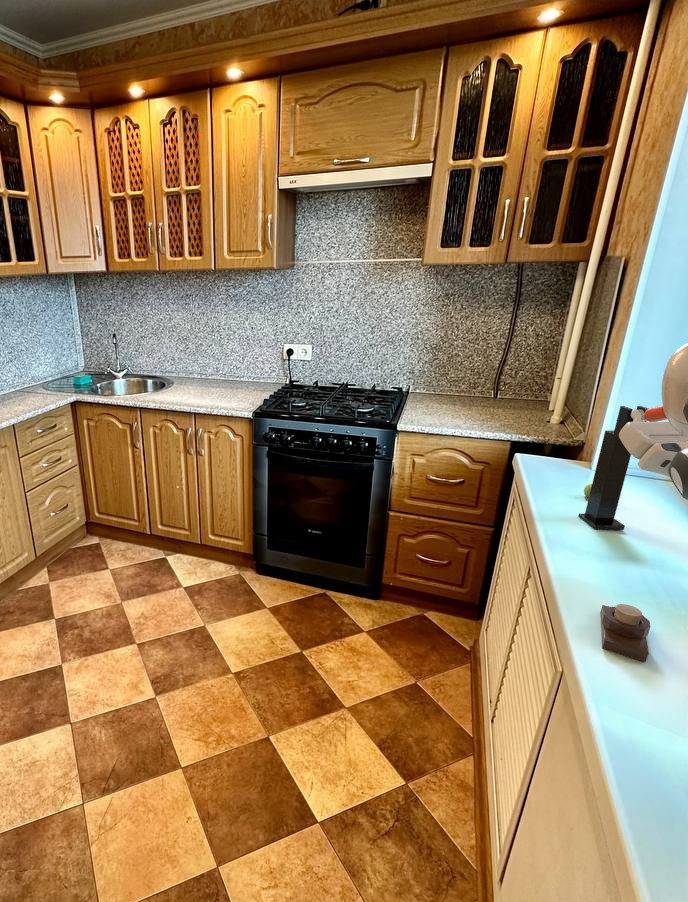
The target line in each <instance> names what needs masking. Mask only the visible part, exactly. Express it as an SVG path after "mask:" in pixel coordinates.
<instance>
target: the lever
mask: <svg viewBox="0 0 688 902" xmlns="http://www.w3.org/2000/svg"><path fill="white" fill-rule="evenodd" d="M641 420H645V421H646V420H647V421H646V422H663V421H666V420H667V421H668V419H667V417H666V415H665V412H664V409H663V404H662V405H658V406H654V407H650V408H649V409H647V410H646V411H645V416H644V417H642V419H641ZM629 422H633V418H632V417H630V421H629Z"/></svg>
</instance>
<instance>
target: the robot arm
mask: <svg viewBox="0 0 688 902" xmlns="http://www.w3.org/2000/svg"><path fill="white" fill-rule="evenodd" d="M663 371H664V372H663V376H662V381H661V403H662V405H663V409H664V412H665V415H666V417H667V421H657V422H648V421H645V420H641V419H642V417H644V416H645V413H644V412H643V410H636V409H633V410H632V413H631V417H632V418H633V422H628V423H627V424H626V425H625V426H624V427H623V428H622V430H621V431H620V433H619V438H620V440H621V441H622V443H623V444H624V446H625V447H626V449H627V450H628V452H629V453H630V454H631V457H633V458H635V459H636V460H639V461H638V462H637V466H638V467H639V469H641V470H642V471H645V472H651V473H654V474H655V473H656V474H659V475H663V476H666V477H668V478H670V480H671V482H672V484H673V485H674V487H675V488H676V490H677V491H678V493H679V494H680V496H681V497H682V499H685V500H686V501H688V342H687V343H685V344H684V345H682V346H681V347H679V348H678V349H677V350H676V351H674V353H672V355H671V356H670V357H669V359H668V361H667V362H666V366H665V368H664V370H663Z"/></svg>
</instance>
